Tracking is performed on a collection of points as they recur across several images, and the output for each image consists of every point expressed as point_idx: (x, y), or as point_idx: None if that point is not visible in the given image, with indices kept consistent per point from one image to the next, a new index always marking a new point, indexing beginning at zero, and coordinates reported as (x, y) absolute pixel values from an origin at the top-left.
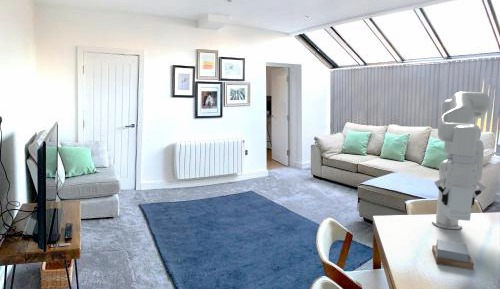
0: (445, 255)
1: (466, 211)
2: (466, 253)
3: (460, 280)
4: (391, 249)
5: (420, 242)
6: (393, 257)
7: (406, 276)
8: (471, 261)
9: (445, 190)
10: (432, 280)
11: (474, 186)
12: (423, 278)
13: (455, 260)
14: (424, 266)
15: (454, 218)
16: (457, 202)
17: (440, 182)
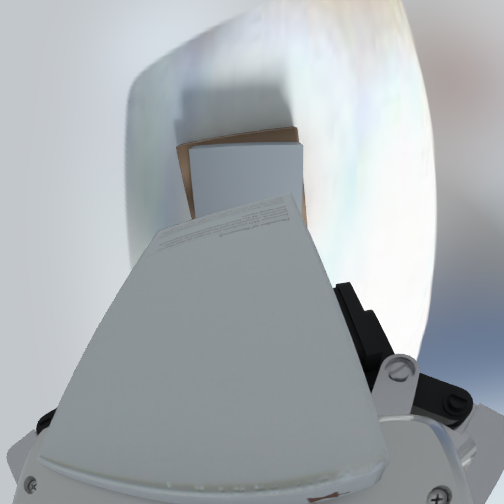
0: (270, 142)
1: (165, 252)
2: (196, 157)
3: (222, 45)
4: (420, 181)
5: (334, 276)
6: (417, 123)
7: (374, 12)
8: (183, 161)
9: (404, 400)
10: (304, 10)
11: (31, 473)
12: (330, 13)
13: (235, 139)
14: (331, 91)
15: (254, 203)
16: (242, 274)
17: (480, 465)
